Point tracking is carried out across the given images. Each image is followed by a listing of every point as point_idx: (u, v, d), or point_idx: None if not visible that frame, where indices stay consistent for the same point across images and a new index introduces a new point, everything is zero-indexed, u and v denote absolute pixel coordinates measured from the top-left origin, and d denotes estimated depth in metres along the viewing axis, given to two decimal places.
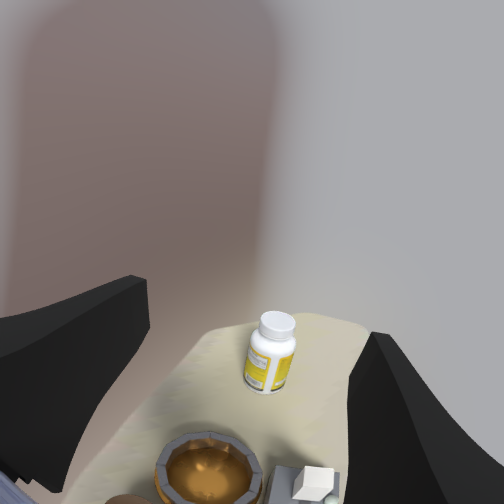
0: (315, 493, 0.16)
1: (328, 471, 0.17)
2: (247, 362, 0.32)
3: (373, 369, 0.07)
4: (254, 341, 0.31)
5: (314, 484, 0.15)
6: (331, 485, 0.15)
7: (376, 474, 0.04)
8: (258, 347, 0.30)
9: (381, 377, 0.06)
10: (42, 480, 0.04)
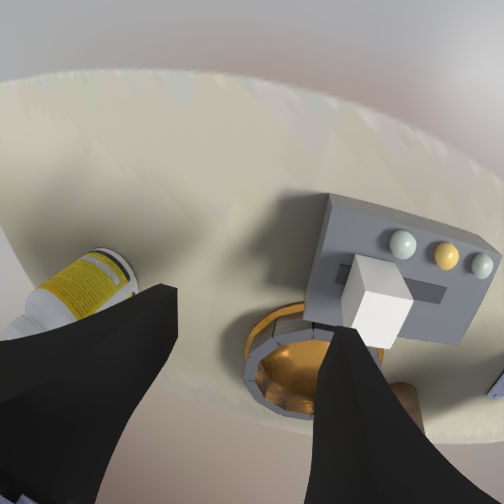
0: None
1: (369, 303, 0.10)
2: None
3: (335, 363, 0.07)
4: None
5: (393, 332, 0.10)
6: (406, 303, 0.09)
7: (330, 472, 0.04)
8: None
9: (341, 371, 0.06)
10: (75, 503, 0.04)
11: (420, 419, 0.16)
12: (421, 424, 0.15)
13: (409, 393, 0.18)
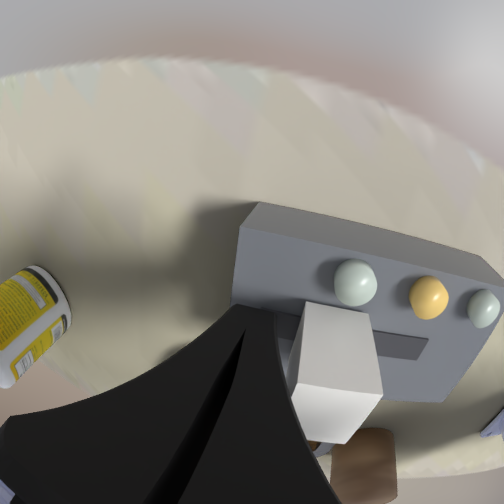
0: None
1: (305, 397, 0.06)
2: None
3: None
4: None
5: (349, 429, 0.06)
6: (369, 398, 0.05)
7: None
8: (8, 386, 0.10)
9: (240, 351, 0.06)
10: None
11: (393, 472, 0.12)
12: (393, 479, 0.11)
13: (382, 441, 0.14)
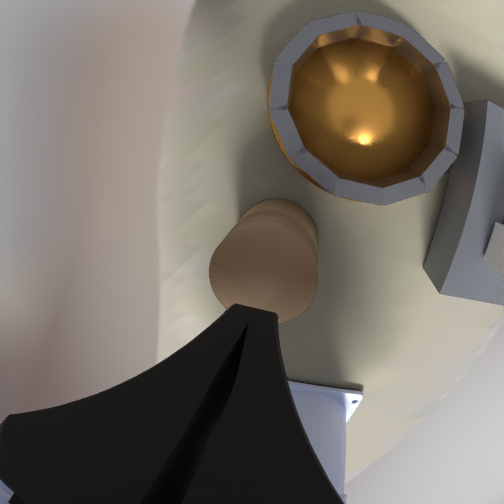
0: None
1: None
2: None
3: None
4: None
5: None
6: None
7: None
8: None
9: None
10: None
11: None
12: None
13: None
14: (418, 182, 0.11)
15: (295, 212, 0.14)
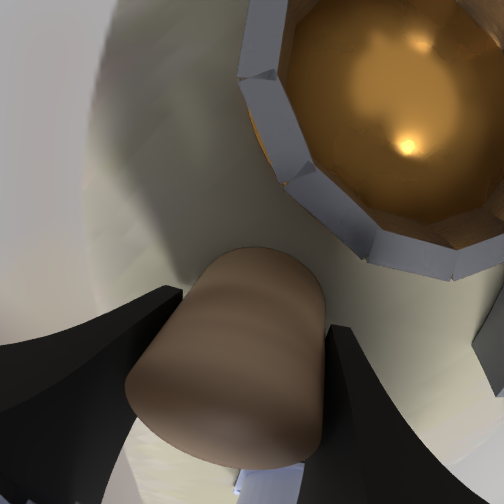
0: None
1: None
2: None
3: (328, 362, 0.07)
4: None
5: None
6: None
7: (321, 472, 0.04)
8: None
9: (333, 370, 0.06)
10: None
11: None
12: None
13: None
14: None
15: (289, 283, 0.07)
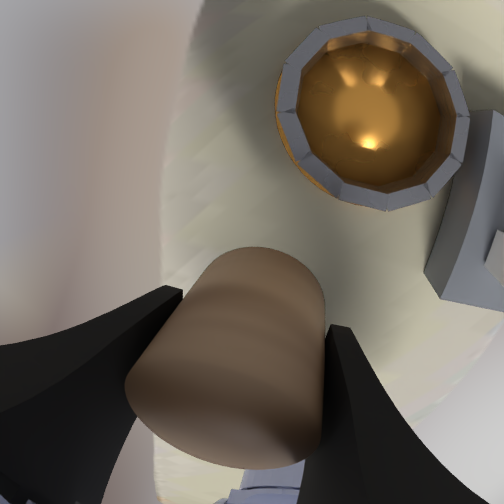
0: None
1: None
2: None
3: (328, 362, 0.07)
4: None
5: None
6: None
7: (321, 472, 0.04)
8: None
9: (333, 370, 0.06)
10: None
11: None
12: None
13: None
14: (422, 189, 0.11)
15: (289, 283, 0.07)
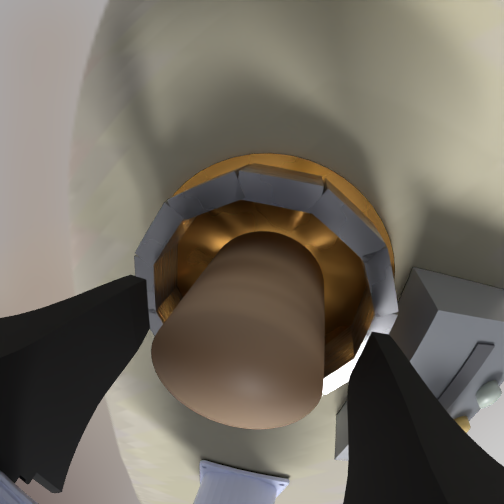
0: None
1: None
2: None
3: (373, 369, 0.07)
4: None
5: None
6: None
7: (376, 474, 0.04)
8: None
9: (381, 377, 0.06)
10: (42, 480, 0.04)
11: None
12: None
13: None
14: None
15: (293, 259, 0.09)
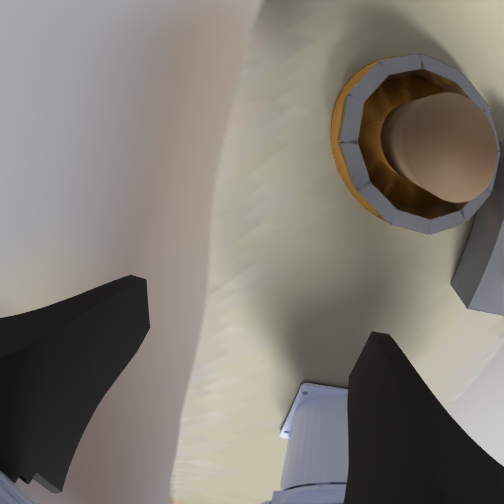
0: None
1: None
2: None
3: (373, 369, 0.07)
4: None
5: None
6: None
7: (376, 474, 0.04)
8: None
9: (381, 377, 0.06)
10: (42, 480, 0.04)
11: None
12: None
13: None
14: (459, 215, 0.12)
15: None
